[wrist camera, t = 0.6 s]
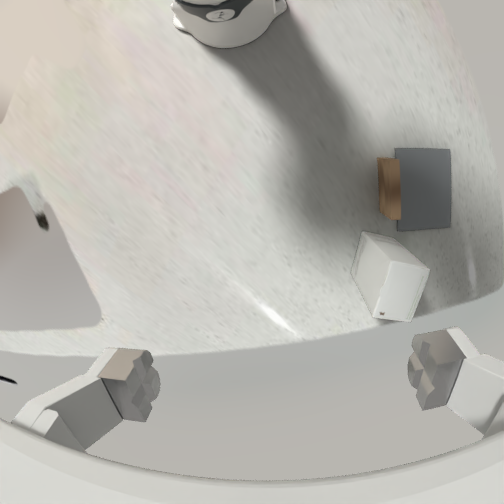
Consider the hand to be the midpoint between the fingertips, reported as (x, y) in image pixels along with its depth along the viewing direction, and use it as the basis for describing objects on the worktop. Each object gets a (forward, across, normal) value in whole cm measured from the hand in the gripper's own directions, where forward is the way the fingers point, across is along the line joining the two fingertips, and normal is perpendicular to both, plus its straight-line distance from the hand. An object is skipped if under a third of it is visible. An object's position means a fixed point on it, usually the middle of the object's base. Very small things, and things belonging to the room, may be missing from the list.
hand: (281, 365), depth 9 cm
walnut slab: (+42, -17, +1) cm, 45 cm away
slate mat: (+42, -25, +2) cm, 49 cm away
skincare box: (+42, -15, +13) cm, 46 cm away
